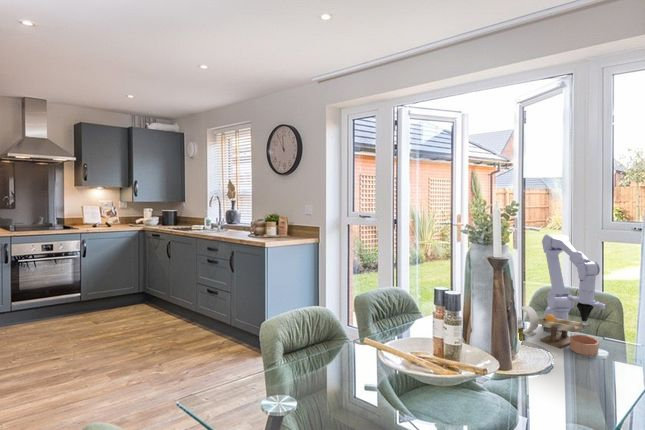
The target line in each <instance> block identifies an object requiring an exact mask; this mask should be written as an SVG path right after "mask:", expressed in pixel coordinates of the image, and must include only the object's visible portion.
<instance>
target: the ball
mask: <svg viewBox="0 0 645 430" xmlns="http://www.w3.org/2000/svg"><path fill="white" fill-rule="evenodd" d="M545 320H546V321H549V322H554V321H555V317H554V316H553V315H552V314H547V315H546V316H545Z"/></svg>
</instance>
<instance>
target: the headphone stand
mask: <svg viewBox="0 0 645 430" xmlns="http://www.w3.org/2000/svg"><path fill="white" fill-rule="evenodd" d="M520 309H521V310H522V311H524V312H525V313H526V315H527V316H528V319H529V327H528V328H526V329H525V328H523V335H525V336H527V337H531V336H535V335H537V332H536V330H537V329H538V328H539V327H538V326H539V325H540V324H539V316H538V313H537V312H536V310H535V309H534V308H533V307H531V306H530V305H525V306H521V307H520Z"/></svg>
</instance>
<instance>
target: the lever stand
mask: <svg viewBox="0 0 645 430" xmlns="http://www.w3.org/2000/svg"><path fill="white" fill-rule="evenodd" d="M560 332H561V331H560ZM560 332H558V330H557V327H554V326H551V332H550V333H549V335H546V336H544V337H542V338H540V342H542V343H544V344H547V345H549V346H552V347H556V348H557V349H563V348H565V347H567V346H570V336H569V335H568V332H569V331H564V330H562V332H561V333H560Z"/></svg>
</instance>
